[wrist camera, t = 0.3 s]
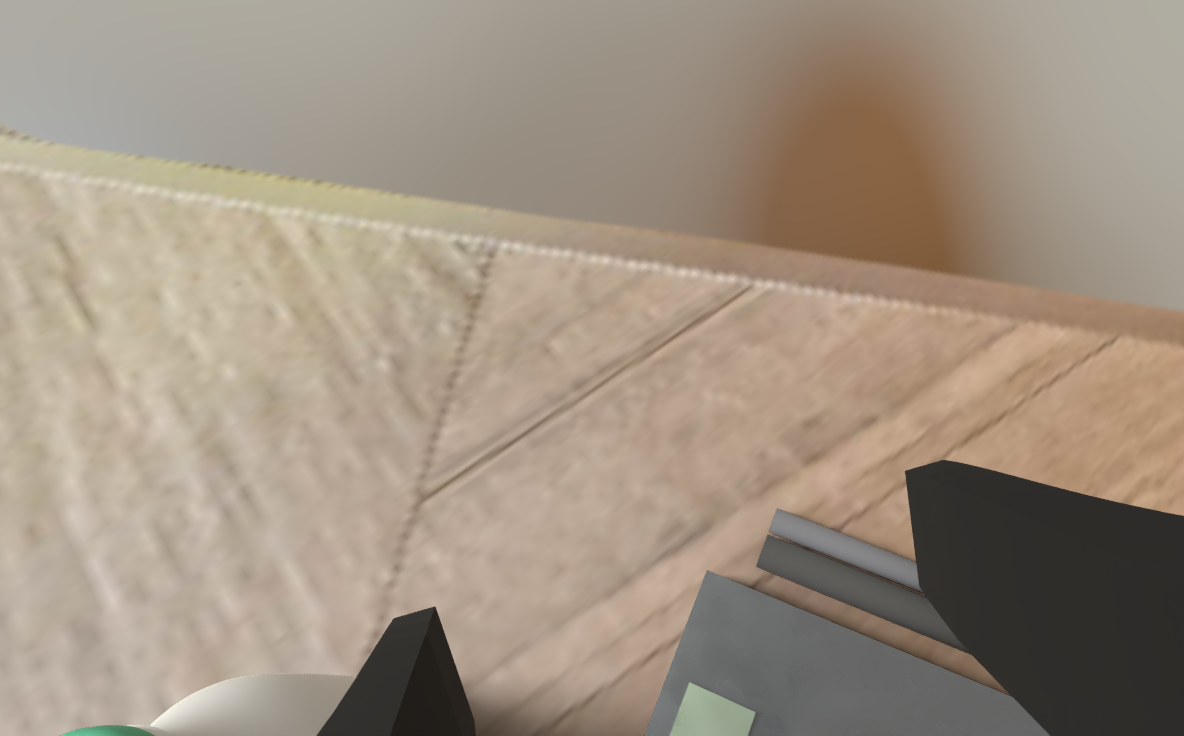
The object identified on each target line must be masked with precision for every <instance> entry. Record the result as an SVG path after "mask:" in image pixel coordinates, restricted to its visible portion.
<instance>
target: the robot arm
mask: <svg viewBox="0 0 1184 736" xmlns="http://www.w3.org/2000/svg"><path fill="white" fill-rule="evenodd" d="M905 474H906V482H907V491H908V499H909V507H910V515H911V523H912V532H913V540H914V548H915V556H916V564H917V573H918V581H919V587H920V588H921V590H922V591H923V593H924V594H925V595H926V597H927V598H928V600H929V601H930V603H931V604H932V605H933V607H934V608H935V610H936V611H937V612H938V614H939V615H940V617H941V618H942V619H943V621H944V622H945V623H946V625H947V626H948V627H949V629H950V630H951V631H952V632H953V634H954V635H955V636H956V638H957V639H958V640H959V641H960V642H961V644H962V645H963V646H964V647H965V648H966V649H967V650H968V651H969V652H970V653H971V654H972V655H973V656H974V657H975V658H976V660H977V661H978V662H979V663H980V664H981V665H982V666H983V667H984V668H985V669H986V670H987V671H988V672H989V673H990V674H991V675H992V676H993V677H994V678H995V679H996V681H997V682H998V683H999V684H1000V685H1001V686H1002V687H1003V688H1004V689H1005V690H1006V691H1007V692H1008V693H1009V694H1010V695H1011V696H1012V697H1013V698H1014V699H1015V700H1016V701H1017V702H1018V703H1019V704H1020V705H1021V706H1022V707H1023V708H1024V709H1025V710H1026V711H1027V712H1028V713H1029V714H1030V715H1031V717H1032V718H1033V719H1034V720H1035V721H1036V722H1037V723H1038V724H1039V725H1040V726H1041V727H1042V728H1043V729H1044V730H1045V731H1046V732H1047V733H1048V734H1049V735H1050V736H1184V516H1181V515H1175V514H1170V513H1165V512H1160V511H1156V510H1151V509H1146V508H1141V507H1137V506H1132V505H1127V504H1123V503H1118V502H1114V501H1109V500H1105V499H1101V498H1097V497H1093V496H1088V495H1084V494H1080V493H1076V492H1072V491H1069V490H1065V489H1061V488H1057V487H1053V486H1049V485H1046V484H1042V483H1038V482H1034V481H1030V480H1027V479H1023V478H1019V477H1015V476H1012V475H1008V474H1004V473H1000V472H997V471H993V470H989V469H985V468H981V467H977V466H972V465H968V464H964V463H959V462H953V461H947V460H941V461H938V462H934V463H931V464H927V465H924V466H920V467H917V468H913V469H910V470H907V471H905ZM316 736H476V733H475V724H474V718H473V715H472V712H471V710H470V707H469V704H468V701H467V698H466V695H465V692H464V689H463V686H462V683H461V680H460V677H459V674H458V671H457V668H456V666H455V663H454V660H453V657H452V654H451V651H450V648H449V645H448V642H447V639H446V636H445V633H444V630H443V627H442V625H441V622H440V619H439V616H438V613H437V610H436V607H432V608H428V609H425V610H421V611H418V612H414V613H411V614H407V615H404V616H400V617H397V618H394V619H393V620H392V622H391V623H390V625H389V626H388V628H387V629H386V631H385V633H384V634H383V636H382V637H381V639H380V640H379V642H378V644H377V645H376V647H375V648H374V650H373V652H372V653H371V655H370V656H369V658H368V659H367V661H366V663H365V664H364V666H363V667H362V669H361V671H360V672H359V674H358V675H357V677H356V678H355V680H354V682H353V683H352V685H351V686H350V688H349V689H348V691H347V692H346V694H345V695H344V697H343V698H342V700H341V701H340V703H339V704H338V706H337V707H336V709H335V710H334V712H333V713H332V715H331V716H330V718H329V719H328V720H327V722H326V723H325V724H324V726H323V727H322V728H321V730H320V731H319V732H318V734H317V735H316Z"/></svg>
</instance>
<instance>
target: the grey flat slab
mask: <svg viewBox="0 0 1184 736" xmlns="http://www.w3.org/2000/svg"><path fill="white" fill-rule="evenodd" d="M644 736H1050V735H1049V734H1048V733H1047V732H1046V731H1045V730H1044V729H1043V728H1042V727H1041V726H1040V725H1039V724H1038V723H1037V722H1036V721H1035V720H1034V719H1033V718H1032V717H1031V715H1030V714H1029V713H1028V712H1027V711H1026V710H1025V709H1024V708H1023V707H1022V706H1021V705H1020V704H1019V703H1018V702H1017V701H1016V700H1015V699H1014V698H1013V697H1011V696H1009V695H1006V694H1004V693H1002V692H999V691H997V690H994V689H992V688H990V687H987V686H985V685H982V684H980V683H977V682H975V681H973V680H970V679H968V678H965V677H963V676H961V675H958V674H956V673H953V672H951V671H949V670H946V669H944V668H941V667H939V666H937V665H934V664H932V663H929V662H927V661H925V660H922V659H920V658H917V657H915V656H913V655H910V654H908V653H905V652H903V651H900V650H898V649H896V648H893V647H891V646H888V645H886V644H884V643H881V642H879V641H876V640H874V639H872V638H869V637H867V636H864V635H862V634H860V633H857V632H855V631H852V630H850V629H848V628H845V627H843V626H840V625H838V624H835V623H833V622H831V621H828V620H826V619H823V618H821V617H819V616H816V615H814V614H811V613H809V612H807V611H804V610H802V609H799V608H797V607H795V606H792V605H790V604H787V603H785V602H783V601H780V600H778V599H775V598H773V597H771V596H768V595H766V594H763V593H761V592H758V591H756V590H754V589H751V588H749V587H746V586H744V585H742V584H739V583H737V582H734V581H732V580H730V579H727V578H725V577H722V576H720V575H718V574H715V573H713V572H710V571H708V570H707V572H706V574H705V577H704V580H703V582H702V585H701V587H700V590H699V593H698V595H697V598H696V601H695V603H694V606H693V609H692V611H691V614H690V617H689V619H688V622H687V624H686V627H685V630H684V632H683V635H682V638H681V640H680V643H679V646H678V648H677V651H676V654H675V656H674V659H673V661H672V664H671V667H670V669H669V672H668V675H667V677H666V680H665V683H664V685H663V688H662V690H661V693H660V696H659V698H658V701H657V704H656V706H655V709H654V712H653V714H652V717H651V720H650V722H649V725H648V727H647V730H646V733H645V735H644Z"/></svg>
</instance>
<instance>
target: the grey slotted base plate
mask: <svg viewBox="0 0 1184 736" xmlns="http://www.w3.org/2000/svg"><path fill="white" fill-rule="evenodd" d="M769 532H770V533H773V534H775V535H778V536H780V537H783V538H785V539H788V540H790V541H793V542H795V543H798V544H800V545H803V546H806V547H808V548H811V549H813V550H816V551H818V552H821V553H823V554H826V555H828V556H831V557H833V558H836V559H838V560H841V561H843V562H846V563H849V564H851V565H854V566H856V567H859V568H861V569H864V570H866V571H869V572H871V573H874V574H876V575H879V576H881V577H884V578H887V579H889V580H892V581H894V582H897V583H899V584H902V585H904V586H907V587H909V588H912V589H914V590H917V591H919V592H922V593H923V591H922V590H921V588H920V587H919V581H918V573H917V564H916V562H915V561H912V560H909V559H907V558H904V557H902V556H899V555H897V554H894V553H891V552H889V551H886V550H884V549H881V548H878V547H876V546H873V545H871V544H868V543H865V542H863V541H860V540H858V539H855V538H853V537H850V536H847V535H845V534H842V533H840V532H837V531H834V530H832V529H829V528H827V527H824V526H821V525H819V524H816V523H814V522H811V521H808V520H806V519H803V518H801V517H798V516H796V515H793V514H790V513H788V512H785V511H783V510H780V509H777V510H776V513H775V515H774V518H773V521H772V524H771V526H770V529H769ZM756 567H758V568H761V569H763V570H766V571H768V572H771V573H773V574H775V575H778V576H780V577H783V578H785V579H788V580H790V581H793V582H795V583H797V584H800V585H802V586H805V587H807V588H810V589H812V590H815V591H817V592H820V593H822V594H824V595H827V596H829V597H832V598H834V599H837V600H839V601H842V602H844V603H847V604H849V605H851V606H854V607H856V608H859V609H861V610H864V611H866V612H869V613H871V614H874V615H876V616H878V617H881V618H883V619H886V620H888V621H891V622H893V623H896V624H898V625H900V626H903V627H905V628H908V629H910V630H913V631H915V632H918V633H920V634H923V635H925V636H927V637H930V638H932V639H935V640H937V641H940V642H942V643H945V644H947V645H950V646H952V647H954V648H957V649H959V650H962V651H964V652H967V653H969V654H971V653H970V652H969V651H968V650H967V649H966V648H965V647H964V646H963V645H962V644H961V642H960V641H959V640H958V639H957V638H956V636H955V635H954V634H953V632H952V631H951V630H950V629H949V627H948V626H947V625H946V623H945V622H944V621H943V619H942V618H941V617H940V615H939V614H938V612H937V611H936V610H935V608H934V607H933V605H932V604H931V603H930V601H929V600H928V598H927V597H924V596H922V595H919V594H917V593H914V592H912V591H909V590H906V589H904V588H901V587H899V586H896V585H894V584H891V583H889V582H886V581H884V580H881V579H879V578H876V577H874V576H871V575H869V574H866V573H864V572H861V571H858V570H856V569H853V568H851V567H848V566H846V565H843V564H841V563H838V562H836V561H833V560H831V559H828V558H826V557H823V556H821V555H818V554H816V553H813V552H810V551H808V550H805V549H803V548H800V547H798V546H795V545H793V544H790V543H788V542H785V541H783V540H780V539H778V538H775V537H773V536H770V535H767V538H766V540H765V543H764V546H763V549H762V551H761V554H760V557H759V560H758V563H757V565H756Z"/></svg>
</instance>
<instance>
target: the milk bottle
mask: <svg viewBox="0 0 1184 736" xmlns="http://www.w3.org/2000/svg"><path fill="white" fill-rule="evenodd" d="M356 677H357V676H343V675H325V674H298V673H273V674H254V675H247V676H242V677H237V678H233V679H228V680H225V681H221V682H218V683H216V684H213V685H211V686H208V687H206V688H204V689H201V690H199V691H197V692H195V693H193V694H191V695H189V696H188V697H186V698H185V699H183V700H181V701H180V702H178V703H177V704H175V705H174V706H172V707H171V708H170V709H168V710H167V711H166V712H165V713H163V714H162V715H161V716H160V717H159V718H157V719H156V720H155V721H154V722H153V723H152V724H151V725H150V726H149V725H143V724H132V725H124V726H115V725H105V726H95V727H87V728H82V729H77V730H74V731H70V732H68V733H65V734H63V735H61V736H316V735H317V734H318V732H319V731H320V730H321V728H322V727H323V726H324V724H325V723H326V722H327V720H328V719H329V718H330V716H331V715H332V713H333V712H334V710H335V709H336V707H337V706H338V704H339V703H340V701H341V700H342V698H343V697H344V695H345V694H346V692H347V691H348V689H349V688H350V686H351V685H352V683H353V682H354V680H355V678H356Z"/></svg>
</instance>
